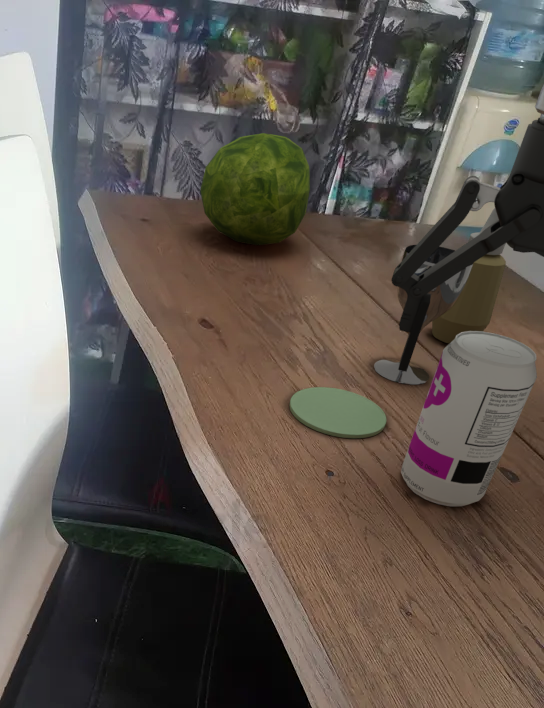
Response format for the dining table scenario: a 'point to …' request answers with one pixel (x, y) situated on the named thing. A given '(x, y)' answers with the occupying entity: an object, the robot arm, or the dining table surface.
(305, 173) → the lettuce
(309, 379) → the dining table surface
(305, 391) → the coaster
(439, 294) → the wine glass
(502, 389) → the supplement can
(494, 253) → the squeeze bottle
